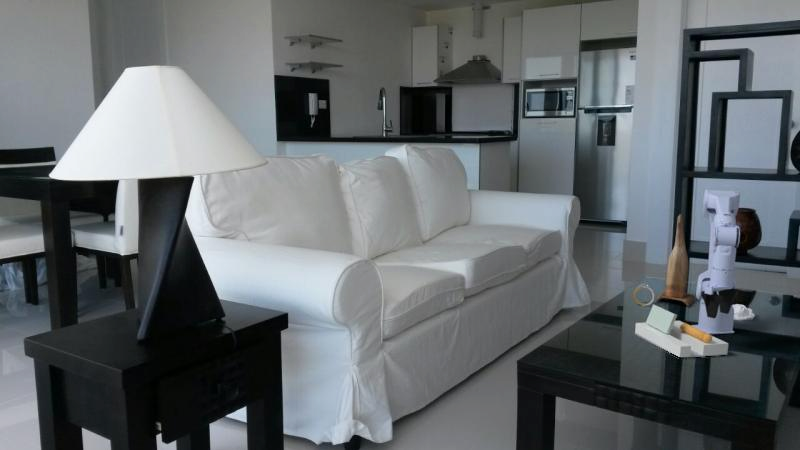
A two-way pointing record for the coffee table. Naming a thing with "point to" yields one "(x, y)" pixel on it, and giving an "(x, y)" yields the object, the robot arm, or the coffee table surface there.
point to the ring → (641, 288)
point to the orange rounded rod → (696, 332)
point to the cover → (661, 319)
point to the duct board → (681, 341)
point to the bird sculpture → (678, 270)
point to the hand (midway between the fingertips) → (717, 315)
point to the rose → (742, 313)
